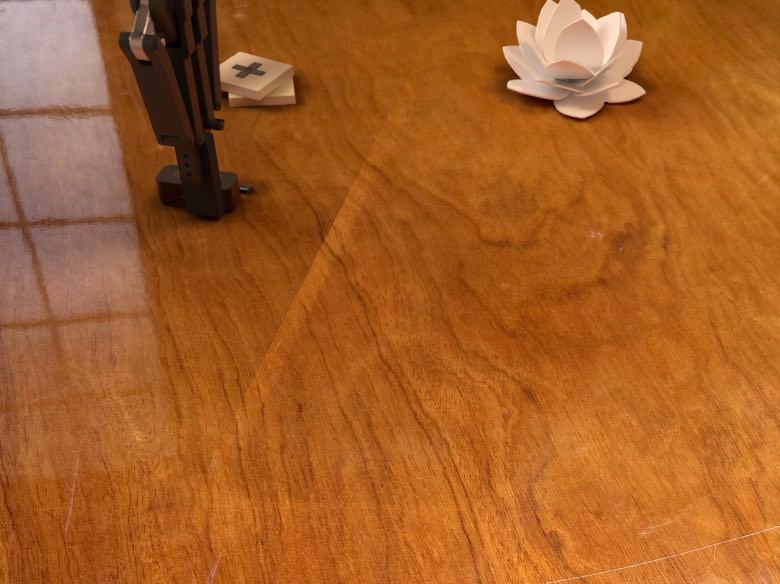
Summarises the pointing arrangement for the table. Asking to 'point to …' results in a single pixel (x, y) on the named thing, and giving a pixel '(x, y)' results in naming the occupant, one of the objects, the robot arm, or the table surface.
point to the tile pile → (257, 81)
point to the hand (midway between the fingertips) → (206, 210)
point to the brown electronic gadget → (174, 196)
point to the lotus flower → (574, 59)
